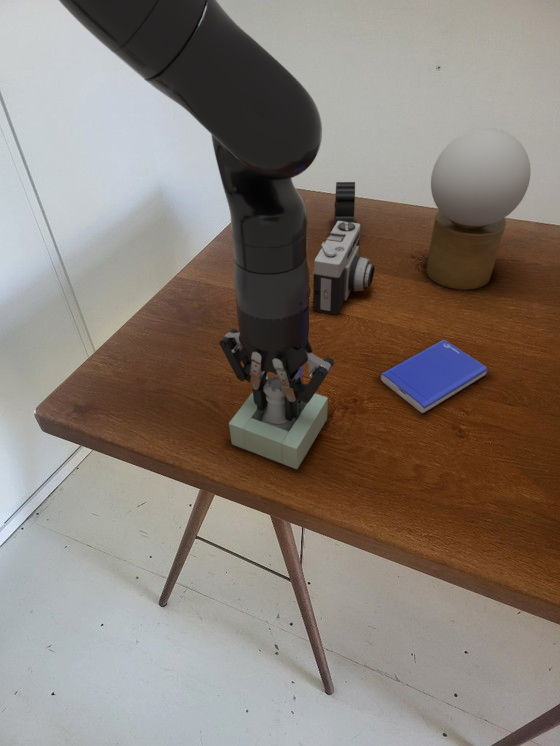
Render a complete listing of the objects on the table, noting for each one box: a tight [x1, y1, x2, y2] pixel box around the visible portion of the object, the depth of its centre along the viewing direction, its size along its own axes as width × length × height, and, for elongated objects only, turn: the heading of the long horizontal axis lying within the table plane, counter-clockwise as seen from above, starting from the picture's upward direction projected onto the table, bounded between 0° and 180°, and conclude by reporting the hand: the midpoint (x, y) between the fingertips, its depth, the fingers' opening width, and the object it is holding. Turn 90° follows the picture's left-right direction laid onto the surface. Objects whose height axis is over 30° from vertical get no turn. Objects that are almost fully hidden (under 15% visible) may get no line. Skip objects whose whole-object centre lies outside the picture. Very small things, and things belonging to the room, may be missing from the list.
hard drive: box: [380, 339, 488, 414], centre depth 73 cm, size 2×8×12 cm
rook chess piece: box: [262, 374, 296, 432], centre depth 64 cm, size 4×4×8 cm
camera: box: [312, 221, 375, 315], centre depth 86 cm, size 14×8×10 cm, turn 160°
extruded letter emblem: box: [333, 181, 356, 227], centre depth 100 cm, size 18×4×11 cm, turn 176°
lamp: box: [425, 127, 531, 291], centre depth 83 cm, size 15×14×25 cm
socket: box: [228, 377, 329, 470], centre depth 66 cm, size 9×9×4 cm
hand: (278, 410), depth 64 cm, fingers closed on rook chess piece, 3 cm apart
